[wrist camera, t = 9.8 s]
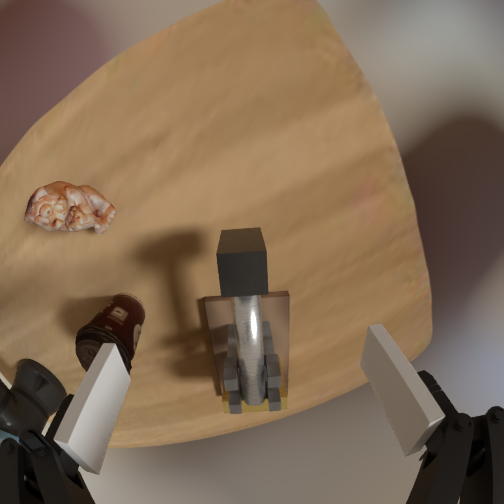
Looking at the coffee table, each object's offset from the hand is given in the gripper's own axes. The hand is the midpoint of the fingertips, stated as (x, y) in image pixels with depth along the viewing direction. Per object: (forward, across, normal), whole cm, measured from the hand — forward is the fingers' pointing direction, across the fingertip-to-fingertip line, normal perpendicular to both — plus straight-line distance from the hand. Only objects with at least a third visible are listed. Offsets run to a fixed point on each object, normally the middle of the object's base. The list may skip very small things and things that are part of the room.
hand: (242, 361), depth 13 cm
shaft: (+17, 0, -9) cm, 20 cm away
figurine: (+25, -19, +6) cm, 32 cm away
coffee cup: (+25, -19, -12) cm, 34 cm away
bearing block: (+25, 0, -21) cm, 33 cm away
